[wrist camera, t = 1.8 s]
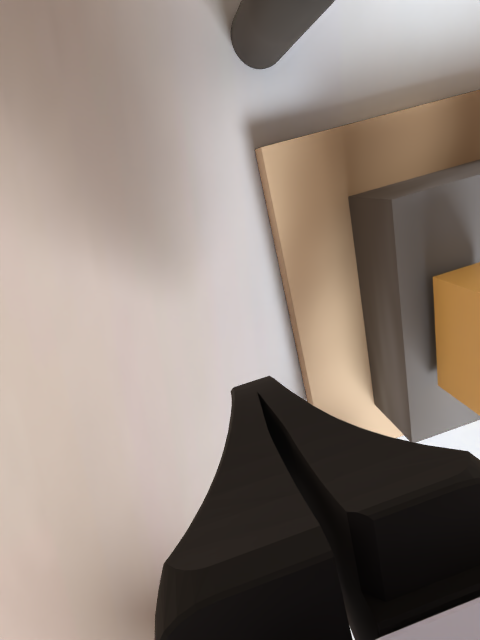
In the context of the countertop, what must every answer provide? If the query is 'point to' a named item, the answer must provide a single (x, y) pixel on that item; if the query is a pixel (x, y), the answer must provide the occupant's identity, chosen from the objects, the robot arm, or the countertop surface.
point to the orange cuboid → (458, 333)
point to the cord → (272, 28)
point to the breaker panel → (327, 239)
